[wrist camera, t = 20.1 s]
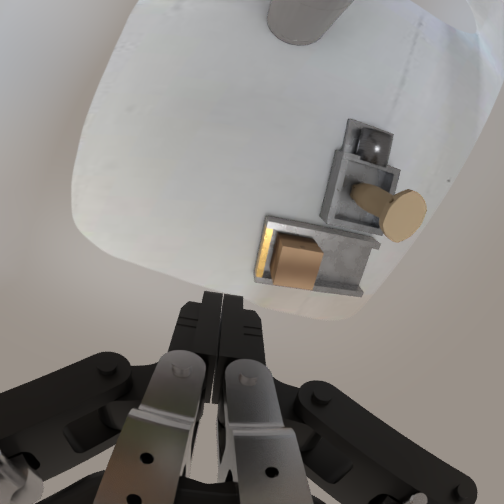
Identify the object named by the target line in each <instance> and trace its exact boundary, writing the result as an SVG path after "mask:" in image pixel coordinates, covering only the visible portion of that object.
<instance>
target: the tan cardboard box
mask: <svg viewBox="0 0 504 504" xmlns="http://www.w3.org/2000/svg"><path fill="white" fill-rule="evenodd" d="M323 254H324V253H323V251H322V250H321V249H320V247H319V246H318V244H317V243H316V241H315V240H314V239H311V238H306V237H300V236H295V235H289V234H284V233H278V232H277V237H276V241H275V245H274V249H273V254H272V258H271V262H270V266H269V268H270V273H271V277H272V282H273V285H279V286H286V287H293V288H300V289H307V290H313V287H314V283H315V280H316V277H317V274H318V271H319V267H320V264H321V261H322V257H323Z"/></svg>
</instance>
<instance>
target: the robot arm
mask: <svg viewBox="0 0 504 504" xmlns="http://www.w3.org/2000/svg"><path fill="white" fill-rule="evenodd" d="M353 1H354V0H271V3H270V7H269V11H268V16H267V22H268V26H269V28H270V30H271V31H272V33H273V34H274V35H275V36H276V37H278V38H279V39H280V40H282V41H284V42H287V43H290V44H294V45H308V44H311V43H314V42H316V41H317V40H319V39H320V38H321V37H322V35H323V34H324V33H325V32H326V31H327V30H328V29H329V28H330V26H331V25H332V24H333V23H334V22H335V21H336V20H337V19H338V17H339V16H340V15H341V14H342V13H343V12H344V11H345V10H346V9H347V7H348V6H349V5H350V4H351V3H352V2H353ZM222 297H223V294H222V293H216V292H209V291H204V295H203V299H202V303H197V302H191V301H189V302H187V303H186V304H185V305H184V306H183V307H182V308H181V310H180V314H179V317H178V320H177V323H176V326H175V330H174V333H173V336H172V340H171V343H170V346H169V350H168V352H167V353H165V354H164V355H163V356H162V357H161V358H160V360H159V361H158V362H157V363H155V364H151V365H145V366H131V365H130V363H129V361H128V360H127V359H126V358H125V357H124V356H122V355H120V354H118V353H114V352H101V353H97V354H95V355H93V356H90V357H88V358H85V359H83V360H81V361H79V362H76V363H74V364H71V365H69V366H67V367H64V368H62V369H60V370H57V371H55V372H52V373H50V374H48V375H45V376H42V377H40V378H38V379H35V380H33V381H30V382H28V383H25V384H23V385H20V386H18V387H15V388H13V389H10V390H8V391H5V392H2V393H0V504H33V503H34V502H36V501H37V500H39V499H40V498H41V496H42V493H43V489H44V488H43V482H44V481H46V480H48V479H50V478H52V477H54V476H56V475H58V474H60V473H62V472H64V471H67V470H69V469H71V468H72V467H75V466H76V465H78V464H80V463H82V462H84V461H86V460H88V459H90V458H92V457H94V456H95V455H97V454H99V453H101V452H103V451H104V450H106V449H108V448H110V447H112V446H113V445H115V444H116V445H115V447H114V450H113V452H112V455H111V457H110V460H109V462H108V465H107V468H106V470H103V471H99V472H96V473H93V474H91V475H88V476H86V477H84V478H82V479H81V480H79V481H77V482H75V483H73V484H72V485H70V486H68V487H66V488H65V489H63V490H61V491H59V492H57V493H55V494H53V495H52V496H49V497H47V498H46V499H44V500H42V501H40V502H38V503H35V504H326V503H324V502H323V501H321V500H320V499H318V498H317V497H315V496H313V495H311V492H310V489H309V485H308V481H307V477H308V478H310V479H311V480H312V481H313V482H314V483H316V484H317V485H318V486H319V487H320V488H322V489H323V490H324V491H326V492H327V493H328V494H329V495H331V496H332V497H333V498H335V499H336V500H337V501H339V502H340V503H341V504H474V503H475V501H476V499H477V487H476V484H475V483H474V481H473V480H472V479H471V478H470V477H469V476H467V475H465V474H464V473H462V472H460V471H459V470H457V469H455V468H453V467H452V466H450V465H449V464H447V463H445V462H444V461H442V460H441V459H439V458H437V457H436V456H434V455H433V454H431V453H429V452H428V451H426V450H425V449H423V448H422V447H420V446H419V445H417V444H415V443H414V442H412V441H411V440H410V439H408V438H407V437H405V436H404V435H402V434H400V433H399V432H397V431H396V430H395V429H393V428H392V427H390V426H389V425H387V424H386V423H384V422H383V421H382V420H380V419H379V418H377V417H376V416H374V415H373V414H372V413H370V412H369V411H367V410H366V409H365V408H363V407H362V406H360V405H359V404H358V403H356V402H355V401H354V400H352V399H351V398H349V397H348V396H347V395H345V394H344V393H343V392H341V391H340V390H339V389H337V388H336V387H334V386H333V385H331V384H329V383H327V382H324V381H309V382H306V383H304V384H303V385H302V386H301V387H300V388H297V387H294V386H290V385H287V384H284V383H282V382H280V381H278V380H276V379H275V378H274V377H272V373H271V371H270V370H269V369H268V368H267V367H266V362H265V353H264V343H263V335H262V324H261V319H260V317H259V316H258V314H257V313H256V312H255V311H253V310H246V309H243V296H237V295H230V294H224V299H223V305H222ZM221 306H222V311H221ZM220 316H221V318H220ZM214 370H215V371H214ZM213 377H214V383H213ZM212 384H213V395H212V403H213V404H218V414H217V420H216V436H217V456H218V478H217V483H214V484H205V483H202V482H199V481H196V480H193V479H190V478H189V477H190V469H191V463H192V458H193V453H194V448H195V443H196V439H197V434H198V429H199V424H200V419H201V417H202V415H203V409H204V403H210V398H211V390H212ZM306 476H307V477H306Z"/></svg>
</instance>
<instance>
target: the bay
mask: <svg viewBox="0 0 504 504" xmlns="http://www.w3.org/2000/svg"><path fill="white" fill-rule="evenodd" d="M277 232H278V233H284V234H289V235H295V236H300V237H306V238H311V239H314V240H315V241H316V243H317V244H318V246H319V247H320V249H321V250H322V251H323V253H324V254H323V257H322V261H321V264H320V267H319V271H318V274H317V277H316V280H315V283H314V287H313V290H311V291H318V292H325V293H333V294H340V295H348V296H356V297H362V295H363V291H362V289H361V288H360V287H359V283H360V280H361V278H362V275H363V272H364V269H365V266H366V263H367V260H368V258H369V255H370V252H371V249H372V248H373V249H378V250H379V248H380V245H381V244H380V243H379V242H378V241H376V240H375V239H374V238H373V237H370V236H365V235H361V234H356V233H352V232H347V231H342V230H338V229H333V228H328V227H323V226H318V225H313V224H308V223H303V222H298V221H293V220H288V219H282V218H277V217H272V216H266V217H265V222H264V227H263V231H262V236H261V241H260V245H259V250H258V255H257V259H256V264H255V268H254V282H256V283H262V284H269V285H273V282H272V277H271V273H270V268H269V266H270V262H271V258H272V254H273V249H274V245H275V241H276V237H277ZM276 286H279V285H276ZM283 287H286V286H283ZM289 288H293V287H289ZM296 289H300V288H296ZM303 290H307V289H303Z"/></svg>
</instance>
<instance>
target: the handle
mask: <svg viewBox="0 0 504 504" xmlns="http://www.w3.org/2000/svg"><path fill="white" fill-rule="evenodd" d="M351 188H352V191H351V193H350V197H351V198H352V199H354V201H355V202H356V204H357V205H358V206H359V207H361V208H362V209H363V210H365V211H366V212H368V213H370V214H373V215H375V216H377V217H379V218H380V219H379V225H380V228H381V230H382V232H383V233H384V235H385V236H386V237H388V238H389V239H390V240H392V241H393V242H397V243H398V242H400V241H403V240H405V239H407V238H409V237H410V236H411V235H412V234H414V232H415V231H416V230H417V229H418V228H419V227H420V225H421V224H422V222H423V219H424V217H425V214H426V211H427V207H426V203H425V201H424V199H423V197H422V196H421V195H420V194H419V193H418V192H415V191H413V190H409V189H407V190H404V191H402V192H399V193H397V194H395V195H392V194H390V193H388V192H387V191H385V190H383V189H381V188H380V187H377V186H375V185H372V184H366V183H360V184H357V185H356V184H354V185H352V187H351Z"/></svg>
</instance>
